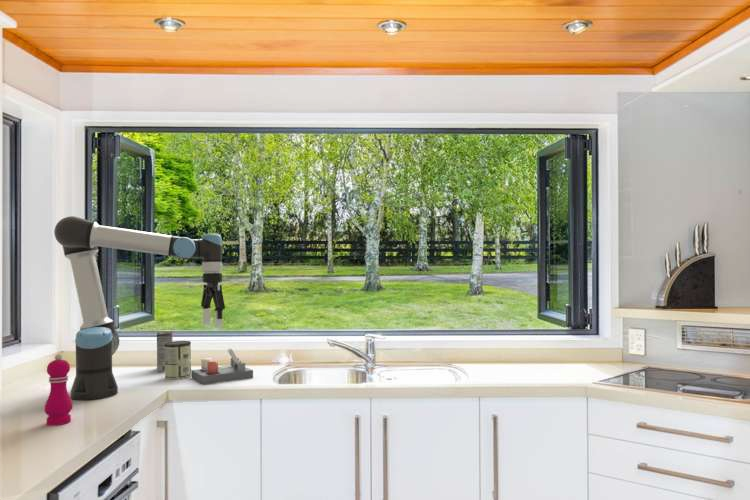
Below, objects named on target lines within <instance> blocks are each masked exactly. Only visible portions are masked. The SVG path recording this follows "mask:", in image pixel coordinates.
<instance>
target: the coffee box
mask: <svg viewBox="0 0 750 500" xmlns="http://www.w3.org/2000/svg"><path fill="white" fill-rule="evenodd" d="M173 341H174V339H173V331H157V333H156V371H157V373H158V372H165V346H164V343H167V342H173Z"/></svg>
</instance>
